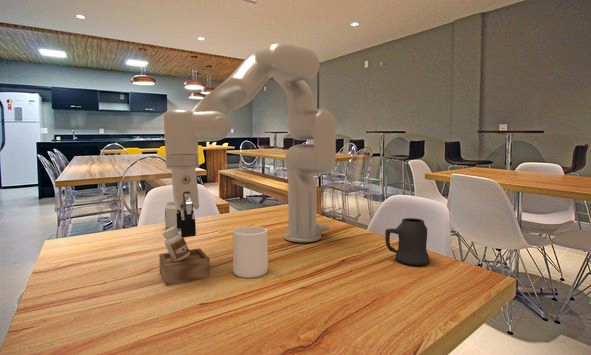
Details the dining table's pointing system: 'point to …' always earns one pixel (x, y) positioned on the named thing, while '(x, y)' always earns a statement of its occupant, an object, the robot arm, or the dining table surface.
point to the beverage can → (170, 216)
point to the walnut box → (185, 267)
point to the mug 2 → (410, 242)
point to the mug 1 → (250, 251)
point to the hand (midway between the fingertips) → (186, 231)
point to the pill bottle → (175, 244)
